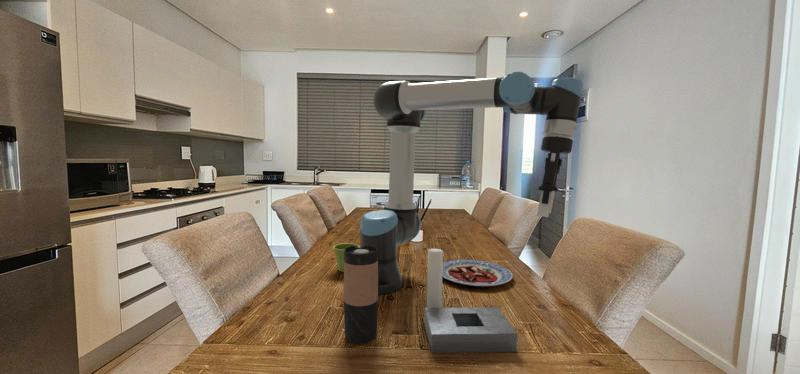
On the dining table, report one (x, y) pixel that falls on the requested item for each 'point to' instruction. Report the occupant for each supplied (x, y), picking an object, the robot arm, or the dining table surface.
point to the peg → (434, 278)
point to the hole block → (469, 330)
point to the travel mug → (360, 293)
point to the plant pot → (341, 254)
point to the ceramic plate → (475, 272)
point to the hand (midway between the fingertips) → (544, 214)
